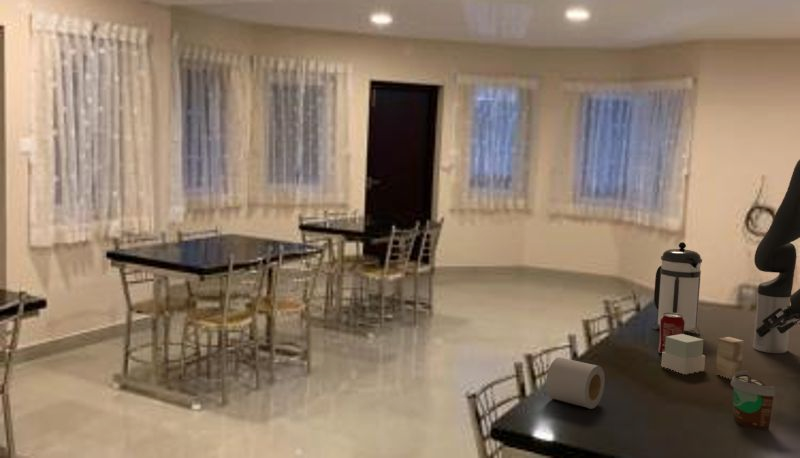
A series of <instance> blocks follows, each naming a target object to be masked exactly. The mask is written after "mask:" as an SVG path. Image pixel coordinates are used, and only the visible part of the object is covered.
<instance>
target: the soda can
mask: <svg viewBox="0 0 800 458" xmlns="http://www.w3.org/2000/svg"><path fill="white" fill-rule="evenodd" d="M682 317H683V315H681V314H678V313H663V316H662V318H661V319H660V327H659V333H658V335H659V336H658V349H657V351H658V353H660V354H661V353H662V352H665V340H666V336H672V335H678V334H685V331H684V320H683V318H682Z"/></svg>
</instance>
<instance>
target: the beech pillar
mask: <svg viewBox="0 0 800 458" xmlns="http://www.w3.org/2000/svg"><path fill="white" fill-rule="evenodd" d="M743 349H744V340H742V339H739V338H735V337H732V336H725V337H720V338H717V349H716V350H717V351H716V362H715V363H716V364H715V374H716V376H718V375H720V376H719V377H722V376H723V377H722V378H725V377H726V379H728V378H729V379H728V380H732V378H733V376H734V374H735V373H737V372H742V363H743V354H744V353H743Z"/></svg>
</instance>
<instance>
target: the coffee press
mask: <svg viewBox="0 0 800 458" xmlns="http://www.w3.org/2000/svg"><path fill="white" fill-rule="evenodd" d="M686 246H687V245H686V243H685V242H683V241H681V242H679V243H678V248H673V249H672V248H671V249H667V250H665V251H664V252H663V254H662V255H661V256H660V260H661V265H659V267H658V268H657V269H656V272H655V279H654V280H655V281H654V291H653V292H654V294H653V296H654V297H653V301H654V306H655V308H656V309H657V317H656V318H657V319H656V322H655V323H654V324H653V326H652V328H653V329H654V330H657V329H660V319H661V318H662V316H663V313H678V314H681V315H683V317H682V318H683V320H684V332H693V333H694V334H695V333H697V332H696V331H695V330H694V329H695V328H696V329H697V331H698V334H699V335H700V334H701V330H700V329H699V327H698V316H699V304H700V303H699V301H700V299H699V298H700V289H701V288H700V286H701V274H702V271H701V266H702V263H703V259H702V257H701V255H700V254H699V253H698V252H697V251H694V250H690V249H685V248H686ZM656 324H658V327H655V325H656Z"/></svg>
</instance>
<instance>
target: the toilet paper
mask: <svg viewBox="0 0 800 458" xmlns="http://www.w3.org/2000/svg"><path fill="white" fill-rule="evenodd" d="M605 379H606V378H605V372H604V370H603V368H602V367H601V366H600V365H597V364H593V363H592V364H591V363H587V362H582V361H578V360H573V359H569V358H564V357H559V356H558V357H556V358H555V359H553V361H552V362H551V364H550V366H549V367H548V370H547V373H546V379H545V392H546V394H547V396H548V397H549V398H550V399H552V400H556V401H559V402H564V403H567V404H571V405H575V406H579V407H584V408H587V409H590V410H591V409H594V408H596V407H597V406H598V405H599V403H600V401H601V399H602V396H603V393H604V390H605Z"/></svg>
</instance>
